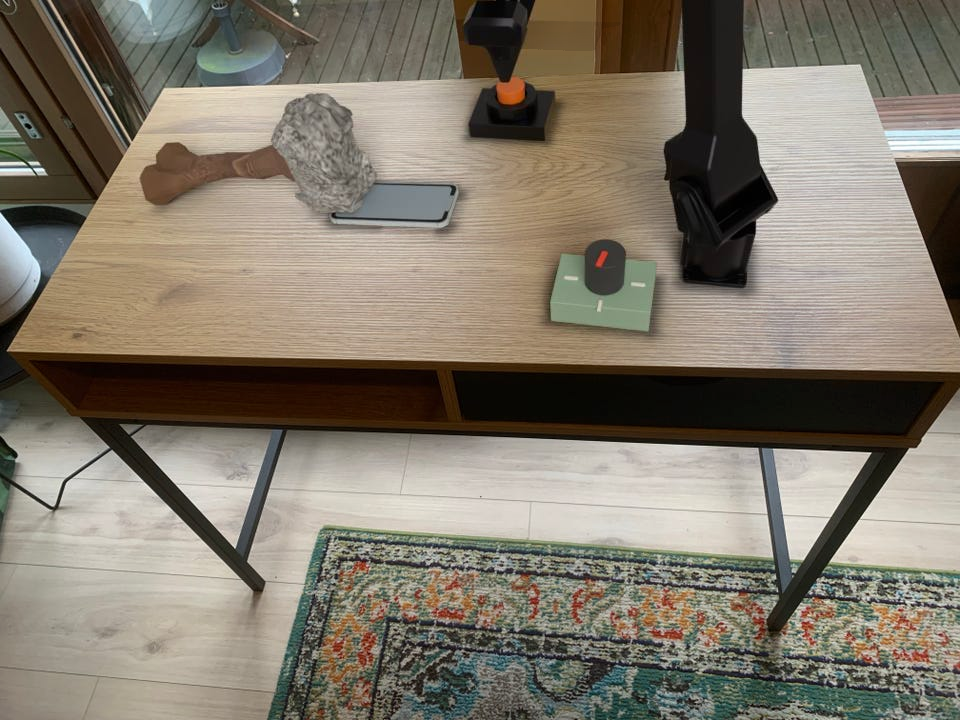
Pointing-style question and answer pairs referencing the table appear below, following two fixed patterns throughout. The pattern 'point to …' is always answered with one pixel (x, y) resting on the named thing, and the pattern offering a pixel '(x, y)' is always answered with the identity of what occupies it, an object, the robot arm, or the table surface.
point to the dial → (604, 267)
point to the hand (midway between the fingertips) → (512, 59)
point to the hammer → (279, 160)
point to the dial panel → (603, 296)
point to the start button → (511, 91)
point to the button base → (513, 115)
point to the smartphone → (404, 205)
